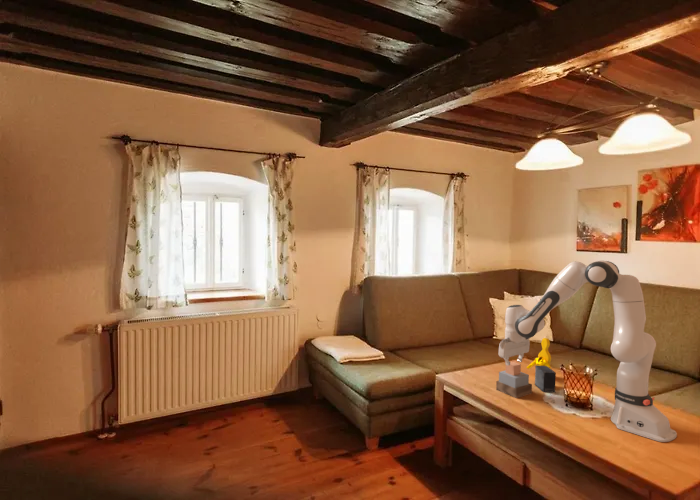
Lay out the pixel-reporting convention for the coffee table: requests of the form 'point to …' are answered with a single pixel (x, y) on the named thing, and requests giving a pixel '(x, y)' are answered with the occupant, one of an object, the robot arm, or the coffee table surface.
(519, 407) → the coffee table surface
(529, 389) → the tower base slab
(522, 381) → the tower top block
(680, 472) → the coffee table surface
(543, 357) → the figure statuette
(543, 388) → the small box
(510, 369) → the terracotta cube
